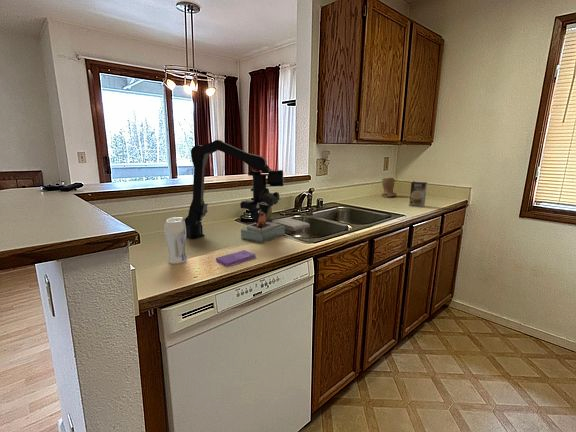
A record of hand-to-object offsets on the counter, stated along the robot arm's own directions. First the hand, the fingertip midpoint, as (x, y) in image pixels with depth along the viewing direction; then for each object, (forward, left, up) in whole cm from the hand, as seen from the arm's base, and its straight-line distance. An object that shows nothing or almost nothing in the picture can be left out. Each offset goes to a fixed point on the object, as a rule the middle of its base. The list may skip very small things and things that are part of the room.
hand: (260, 221), depth 137 cm
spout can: (0, 0, -2) cm, 2 cm away
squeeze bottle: (+26, +19, -7) cm, 33 cm away
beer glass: (-39, +5, -7) cm, 40 cm away
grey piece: (+4, 0, -7) cm, 8 cm away
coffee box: (+117, -38, -7) cm, 123 cm away
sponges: (-26, -10, -8) cm, 29 cm away
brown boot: (+146, -9, -8) cm, 146 cm away
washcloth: (+24, +1, -8) cm, 26 cm away
